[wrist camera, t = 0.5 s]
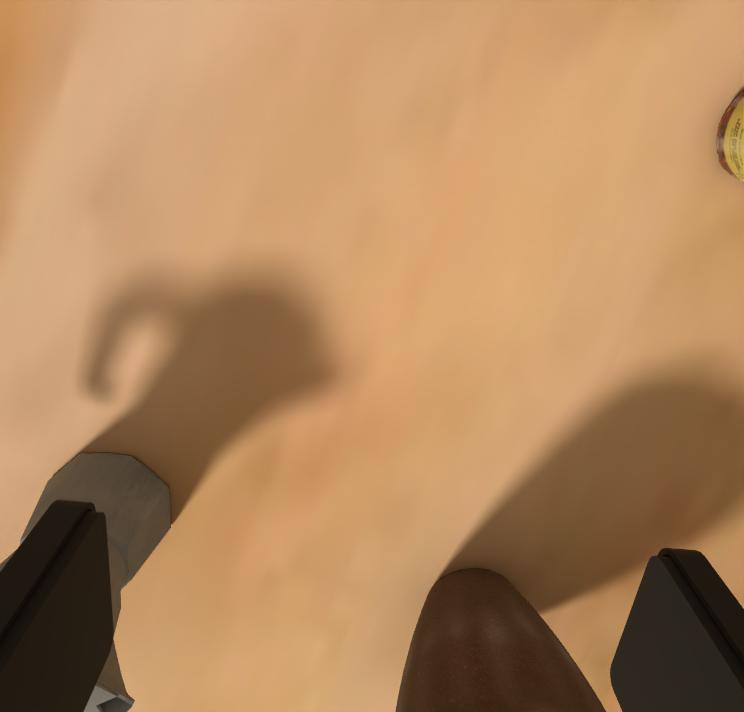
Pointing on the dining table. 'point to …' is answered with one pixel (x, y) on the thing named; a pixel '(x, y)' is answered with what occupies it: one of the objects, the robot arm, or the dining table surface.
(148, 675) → the dining table surface
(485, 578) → the brown wooden cup
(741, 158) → the sauce bottle
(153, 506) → the coffeepot
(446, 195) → the dining table surface
